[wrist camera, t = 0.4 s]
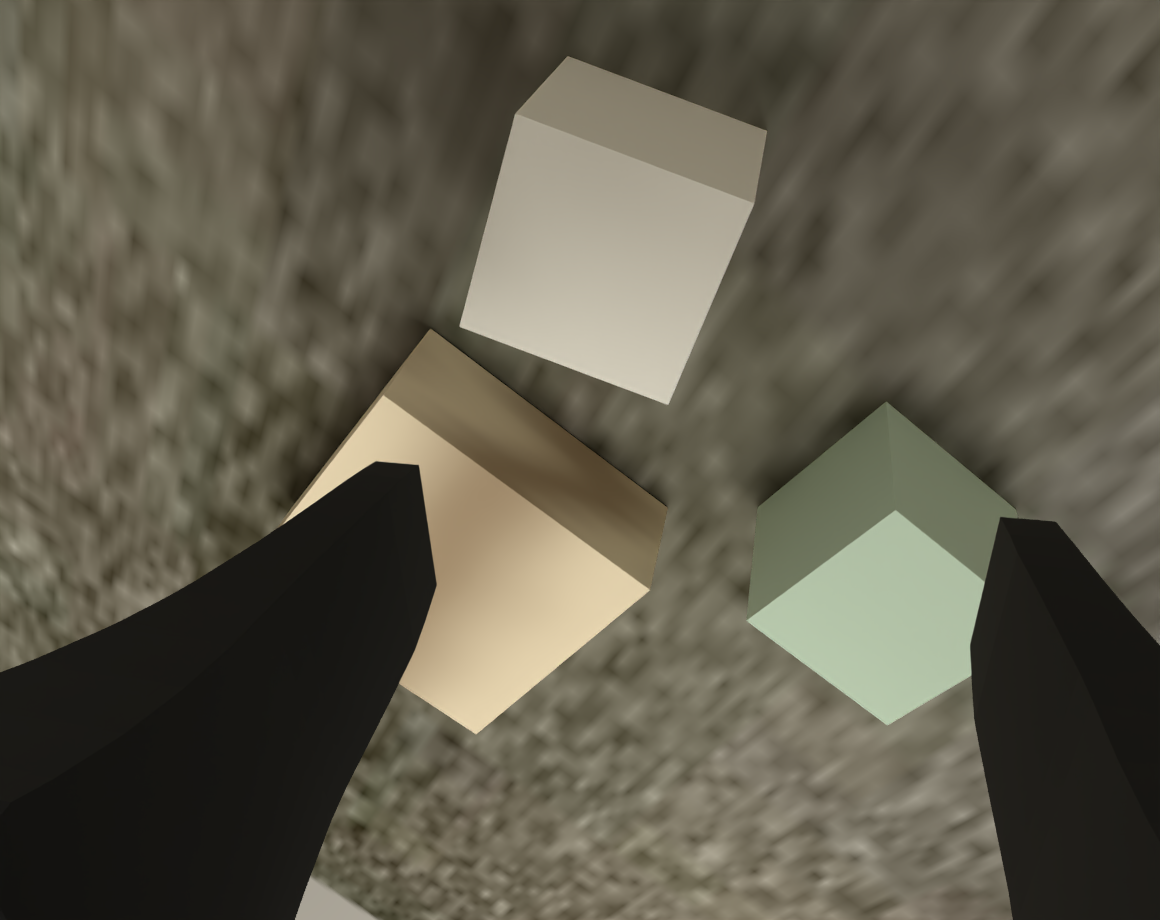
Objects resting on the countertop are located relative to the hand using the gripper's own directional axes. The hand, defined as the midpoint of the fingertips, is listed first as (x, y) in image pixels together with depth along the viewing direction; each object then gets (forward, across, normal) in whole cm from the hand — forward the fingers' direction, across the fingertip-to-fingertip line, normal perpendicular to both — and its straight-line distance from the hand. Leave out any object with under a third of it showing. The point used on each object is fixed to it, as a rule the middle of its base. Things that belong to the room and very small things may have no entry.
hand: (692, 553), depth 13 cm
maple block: (+10, +6, +7) cm, 13 cm away
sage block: (+10, -3, +6) cm, 12 cm away
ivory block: (+10, +2, -1) cm, 10 cm away
